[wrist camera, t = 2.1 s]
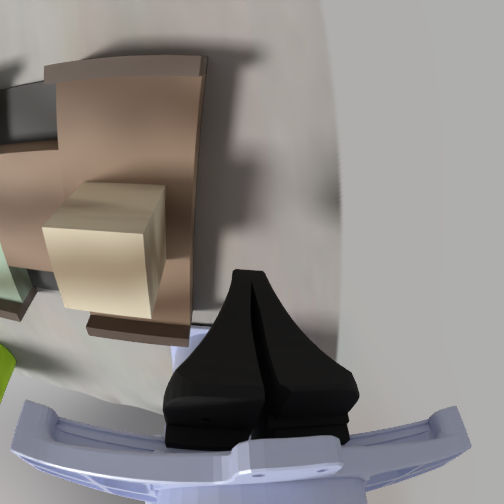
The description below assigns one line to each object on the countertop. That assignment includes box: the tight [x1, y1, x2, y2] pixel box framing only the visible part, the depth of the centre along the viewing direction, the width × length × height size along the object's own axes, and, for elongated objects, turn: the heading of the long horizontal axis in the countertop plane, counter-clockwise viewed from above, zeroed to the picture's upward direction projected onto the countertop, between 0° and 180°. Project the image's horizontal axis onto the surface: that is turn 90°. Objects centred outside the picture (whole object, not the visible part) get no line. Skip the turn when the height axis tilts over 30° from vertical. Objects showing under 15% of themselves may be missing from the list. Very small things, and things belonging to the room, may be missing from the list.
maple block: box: [42, 182, 166, 319], centre depth 15 cm, size 5×5×5 cm
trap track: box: [0, 55, 208, 347], centre depth 17 cm, size 19×23×4 cm
